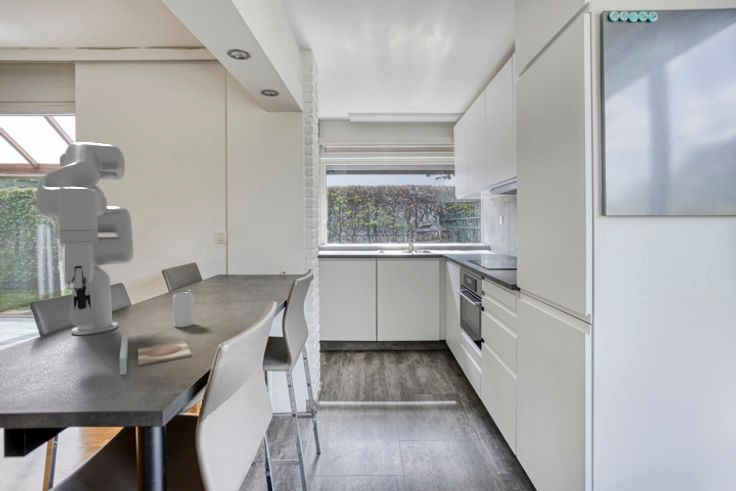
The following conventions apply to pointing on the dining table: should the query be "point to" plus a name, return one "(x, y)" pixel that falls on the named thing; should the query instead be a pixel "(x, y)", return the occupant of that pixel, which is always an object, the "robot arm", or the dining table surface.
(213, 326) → the dining table surface
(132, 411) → the dining table surface
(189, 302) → the can
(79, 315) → the salt shaker
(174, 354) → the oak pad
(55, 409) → the dining table surface
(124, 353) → the acrylic wall
